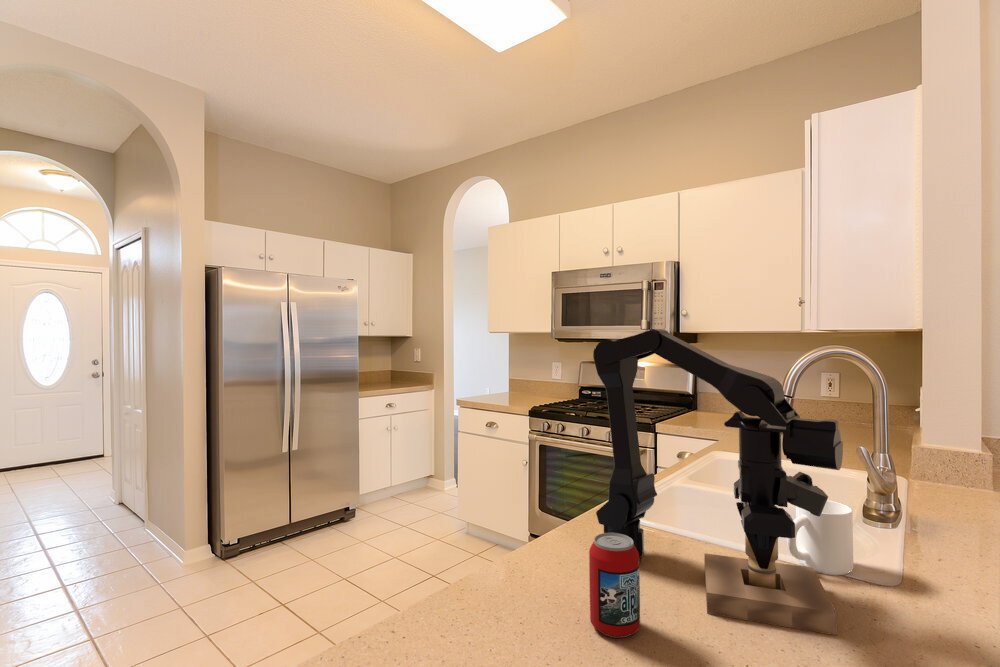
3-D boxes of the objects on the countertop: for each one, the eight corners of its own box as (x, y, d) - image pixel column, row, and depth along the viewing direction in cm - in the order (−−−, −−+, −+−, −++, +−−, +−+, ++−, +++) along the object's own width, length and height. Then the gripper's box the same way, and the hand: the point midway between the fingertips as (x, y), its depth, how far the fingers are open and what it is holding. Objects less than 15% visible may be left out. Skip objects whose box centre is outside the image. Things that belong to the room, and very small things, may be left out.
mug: (809, 583, 81) (808, 519, 81) (768, 561, 89) (767, 503, 89) (865, 572, 84) (864, 511, 84) (821, 552, 92) (820, 496, 92)
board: (707, 613, 72) (706, 592, 72) (704, 570, 86) (704, 553, 86) (837, 635, 67) (836, 612, 67) (813, 586, 80) (812, 567, 80)
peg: (747, 592, 75) (746, 525, 75) (744, 579, 79) (743, 515, 79) (780, 597, 73) (779, 529, 73) (776, 583, 77) (775, 518, 78)
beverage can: (611, 647, 65) (610, 554, 65) (580, 621, 71) (579, 536, 71) (651, 633, 68) (649, 543, 68) (617, 609, 74) (616, 527, 74)
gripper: (839, 480, 65) (841, 601, 65) (807, 449, 82) (809, 545, 82) (743, 472, 69) (745, 587, 69) (732, 445, 86) (734, 536, 86)
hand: (761, 561), depth 76 cm, fingers closed on peg, 4 cm apart
